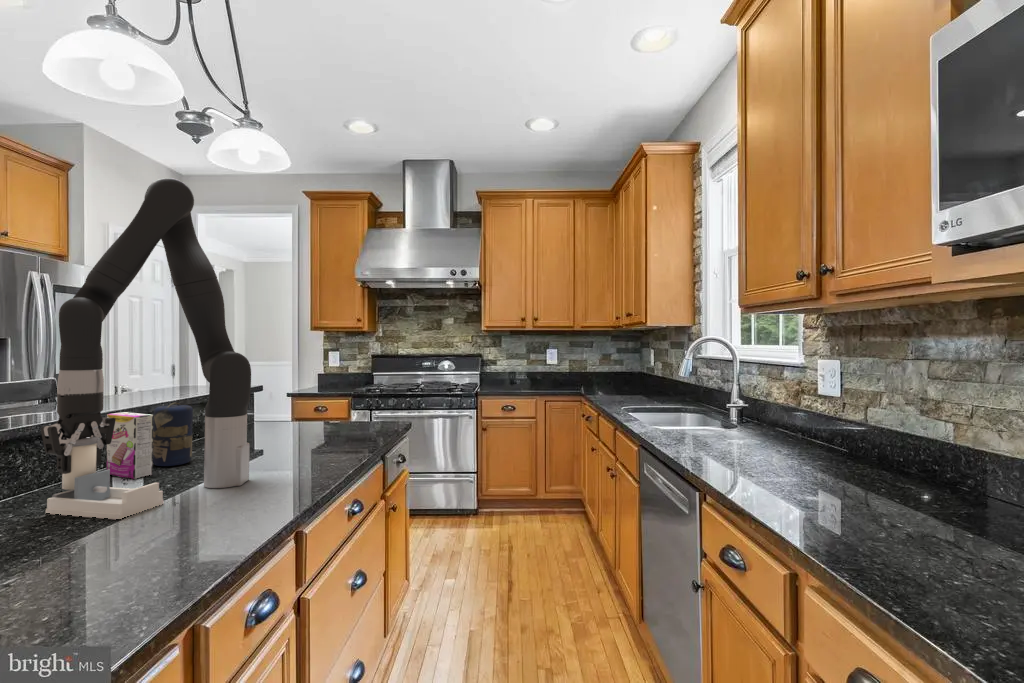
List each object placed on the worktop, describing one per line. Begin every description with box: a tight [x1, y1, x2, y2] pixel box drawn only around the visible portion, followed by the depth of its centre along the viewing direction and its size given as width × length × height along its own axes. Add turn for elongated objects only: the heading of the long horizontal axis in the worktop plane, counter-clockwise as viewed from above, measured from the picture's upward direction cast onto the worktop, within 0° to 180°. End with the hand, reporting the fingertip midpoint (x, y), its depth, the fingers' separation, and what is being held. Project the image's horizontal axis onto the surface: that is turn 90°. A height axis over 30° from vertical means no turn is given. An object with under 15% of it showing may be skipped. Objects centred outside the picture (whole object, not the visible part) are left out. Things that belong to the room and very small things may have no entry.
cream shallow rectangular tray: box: [45, 482, 165, 520], centre depth 105 cm, size 18×10×5 cm, turn 80°
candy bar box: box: [105, 411, 154, 480], centre depth 131 cm, size 11×5×16 cm, turn 71°
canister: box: [152, 402, 194, 467], centre depth 144 cm, size 10×10×18 cm
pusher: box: [74, 469, 111, 501], centre depth 105 cm, size 3×7×6 cm, turn 170°
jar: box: [61, 436, 98, 491], centre depth 106 cm, size 6×6×10 cm
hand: (79, 469), depth 106 cm, fingers closed on jar, 5 cm apart
